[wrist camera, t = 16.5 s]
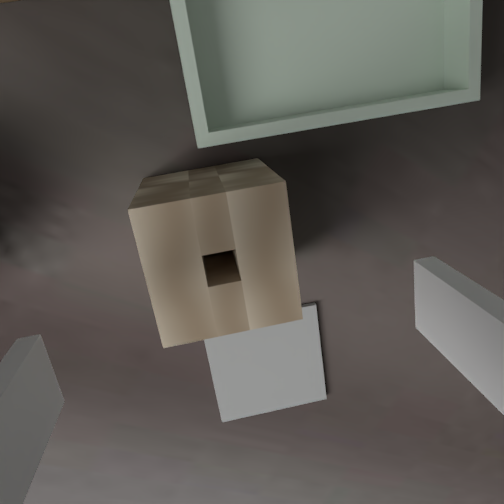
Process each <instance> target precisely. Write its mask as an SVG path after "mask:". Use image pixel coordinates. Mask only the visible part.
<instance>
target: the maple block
mask: <svg viewBox="0 0 504 504" xmlns="http://www.w3.org/2000/svg"><path fill="white" fill-rule="evenodd" d="M128 213H129V217H130V221H131V224H132V228H133V232H134V236H135V240H136V244H137V248H138V252H139V256H140V260H141V263H142V267H143V271H144V275H145V279H146V283H147V287H148V291H149V295H150V298H151V302H152V306H153V310H154V314H155V318H156V322H157V326H158V330H159V334H160V337H161V341H162V345H163V348H167V347H171V346H176V345H181V344H186V343H191V342H195V341H200V340H205V339H210V338H215V337H219V336H224V335H229V334H234V333H239V332H243V331H248V330H253V329H258V328H263V327H268V326H272V325H277V324H282V323H287V322H292V321H296V320H301V319H303V315H302V307H301V299H300V291H299V283H298V275H297V267H296V259H295V251H294V243H293V235H292V227H291V219H290V211H289V203H288V195H287V187H286V181H285V180H284V179H282V178H281V177H280V176H279V175H278V174H276V173H275V172H274V171H273V170H271V169H270V168H269V167H268V166H267V165H265V164H264V163H263V162H262V161H261V160H259V159H258V158H256V159H250V160H245V161H239V162H233V163H227V164H222V165H216V166H210V167H205V168H199V169H193V170H187V171H182V172H176V173H170V174H165V175H159V176H153V177H148V178H143V180H142V182H141V184H140V186H139V188H138V190H137V192H136V194H135V196H134V198H133V200H132V202H131V204H130V206H129V208H128Z"/></svg>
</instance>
